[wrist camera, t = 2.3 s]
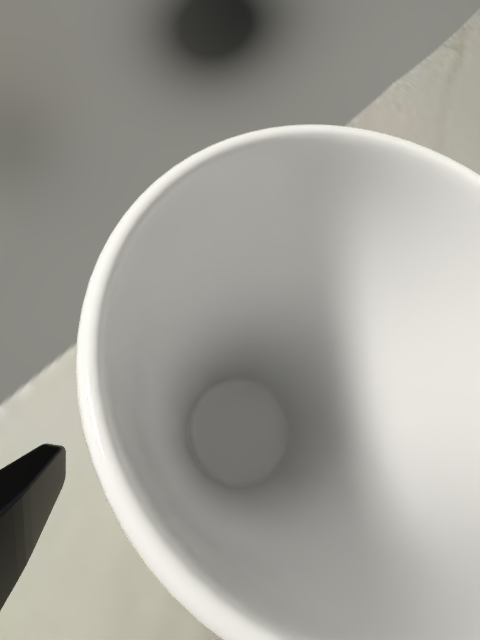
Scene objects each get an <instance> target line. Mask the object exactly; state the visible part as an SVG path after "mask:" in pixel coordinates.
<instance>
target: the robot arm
mask: <svg viewBox="0 0 480 640" xmlns="http://www.w3.org/2000/svg"><path fill="white" fill-rule="evenodd" d="M65 474H66V451H65V448H64V447H63V446H59V445H53V444H43V445H41V446H39V447H37V448H35V449H34V450H32V451H31V452H29V453H27V454H26V455H24V456H22V457H21V458H19V459H17V460H16V461H14V462H12V463H11V464H9V465H7V466H6V467H4V468H2V469H1V470H0V610H1V609H2V607H3V605H4V603H5V602H6V600H7V598H8V597H9V595H10V593H11V591H12V590H13V588H14V586H15V584H16V583H17V581H18V579H19V577H20V576H21V574H22V572H23V570H24V568H25V566H26V565H27V562H28V560H29V558H30V556H31V554H32V552H33V550H34V548H35V546H36V543H37V541H38V539H39V537H40V535H41V532H42V530H43V528H44V526H45V524H46V522H47V519H48V517H49V515H50V513H51V511H52V509H53V506H54V504H55V502H56V500H57V498H58V495H59V493H60V491H61V489H62V487H63V484H64V481H65Z"/></svg>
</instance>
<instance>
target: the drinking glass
mask: <svg viewBox="0 0 480 640" xmlns="http://www.w3.org/2000/svg"><path fill="white" fill-rule="evenodd" d="M76 379H77V396H78V403H79V409H80V415H81V421H82V427H83V432H84V436H85V440H86V443H87V447H88V450H89V454H90V458H91V461H92V465H93V467H94V470H95V472H96V475H97V477H98V480H99V482H100V485H101V487H102V490H103V492H104V495H105V497H106V500H107V501H108V503H109V505H110V507H111V509H112V511H113V513H114V515H115V517H116V519H117V520H118V522H119V524H120V526H121V528H122V530H123V532H124V533H125V535H126V536H127V538H128V539H129V541H130V542H131V544H132V545H133V547H134V548H135V550H136V551H137V553H138V554H139V556H140V557H141V559H142V560H143V562H144V563H145V565H146V566H147V567H148V568H149V569H150V570H151V572H152V573H153V574H154V575H155V576H156V578H157V579H158V580H159V581H160V582H161V584H162V585H163V586H164V587H165V588H166V589H167V591H168V592H169V593H170V594H171V595H172V596H173V597H174V598H175V599H176V600H177V601H178V602H179V603H180V604H181V605H182V606H183V607H184V608H185V609H186V610H187V611H188V612H190V613H191V614H192V615H193V616H194V617H195V618H196V619H197V620H198V621H199V622H200V623H201V624H203V625H204V626H205V627H206V628H208V629H209V630H210V631H212V632H213V633H214V634H216V635H217V636H218V637H220V638H221V639H222V640H480V175H479V174H478V173H476V172H474V171H473V170H471V169H469V168H468V167H466V166H464V165H462V164H460V163H458V162H457V161H455V160H453V159H451V158H449V157H447V156H445V155H443V154H440V153H438V152H436V151H434V150H432V149H429V148H427V147H424V146H422V145H419V144H416V143H414V142H411V141H408V140H405V139H402V138H398V137H395V136H392V135H388V134H384V133H380V132H376V131H371V130H366V129H360V128H354V127H347V126H336V125H314V124H312V125H311V124H307V125H306V124H305V125H288V126H280V127H273V128H266V129H262V130H257V131H252V132H248V133H245V134H241V135H238V136H235V137H232V138H228V139H226V140H223V141H221V142H219V143H216V144H213V145H211V146H209V147H207V148H205V149H203V150H201V151H199V152H197V153H195V154H193V155H191V156H189V157H188V158H186V159H185V160H183V161H182V162H181V163H179V164H177V165H175V166H174V167H172V168H171V169H170V170H169V171H167V172H166V173H165V174H163V175H162V176H161V177H160V178H158V179H157V180H156V181H155V182H154V183H153V184H152V185H151V186H150V187H149V188H147V189H146V190H145V191H144V192H143V193H142V194H141V195H140V196H139V197H138V199H137V200H136V201H135V202H134V203H133V204H132V206H131V207H130V208H129V209H128V210H127V212H126V213H125V214H124V215H123V217H122V218H121V220H120V221H119V223H118V224H117V226H116V227H115V229H114V230H113V232H112V233H111V235H110V237H109V238H108V240H107V242H106V244H105V246H104V248H103V250H102V252H101V254H100V255H99V257H98V260H97V263H96V265H95V268H94V270H93V273H92V275H91V278H90V280H89V283H88V287H87V291H86V294H85V298H84V302H83V306H82V310H81V317H80V323H79V329H78V335H77V352H76Z"/></svg>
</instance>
